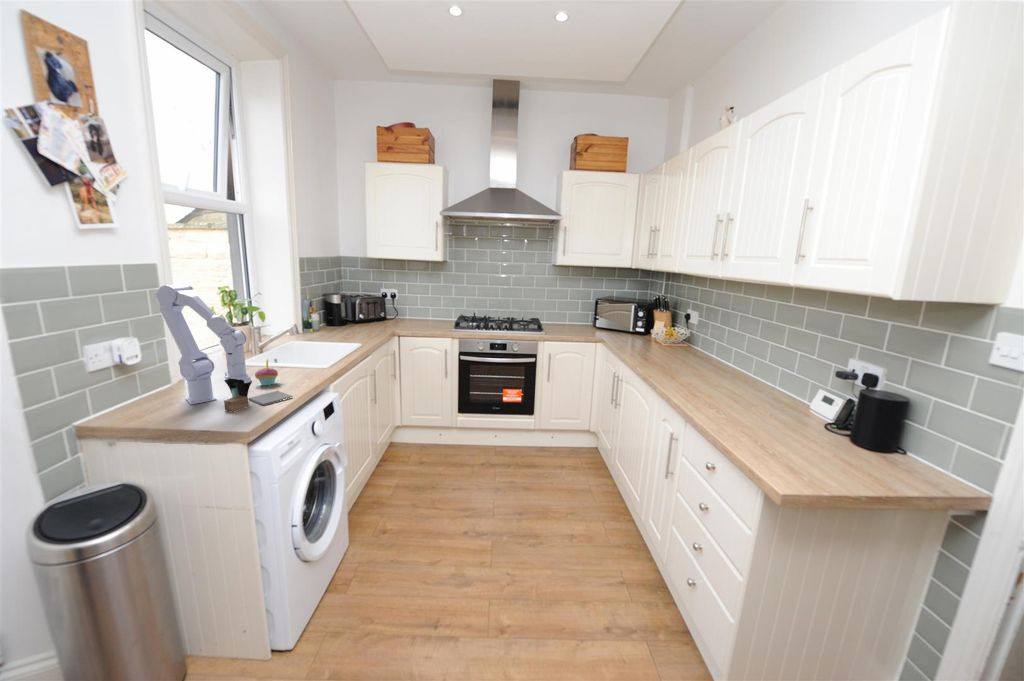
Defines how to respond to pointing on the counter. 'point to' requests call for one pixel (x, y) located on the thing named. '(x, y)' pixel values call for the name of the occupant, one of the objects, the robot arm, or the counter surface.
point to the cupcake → (266, 375)
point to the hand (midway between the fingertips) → (240, 397)
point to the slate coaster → (269, 397)
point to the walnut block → (236, 403)
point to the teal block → (235, 392)
